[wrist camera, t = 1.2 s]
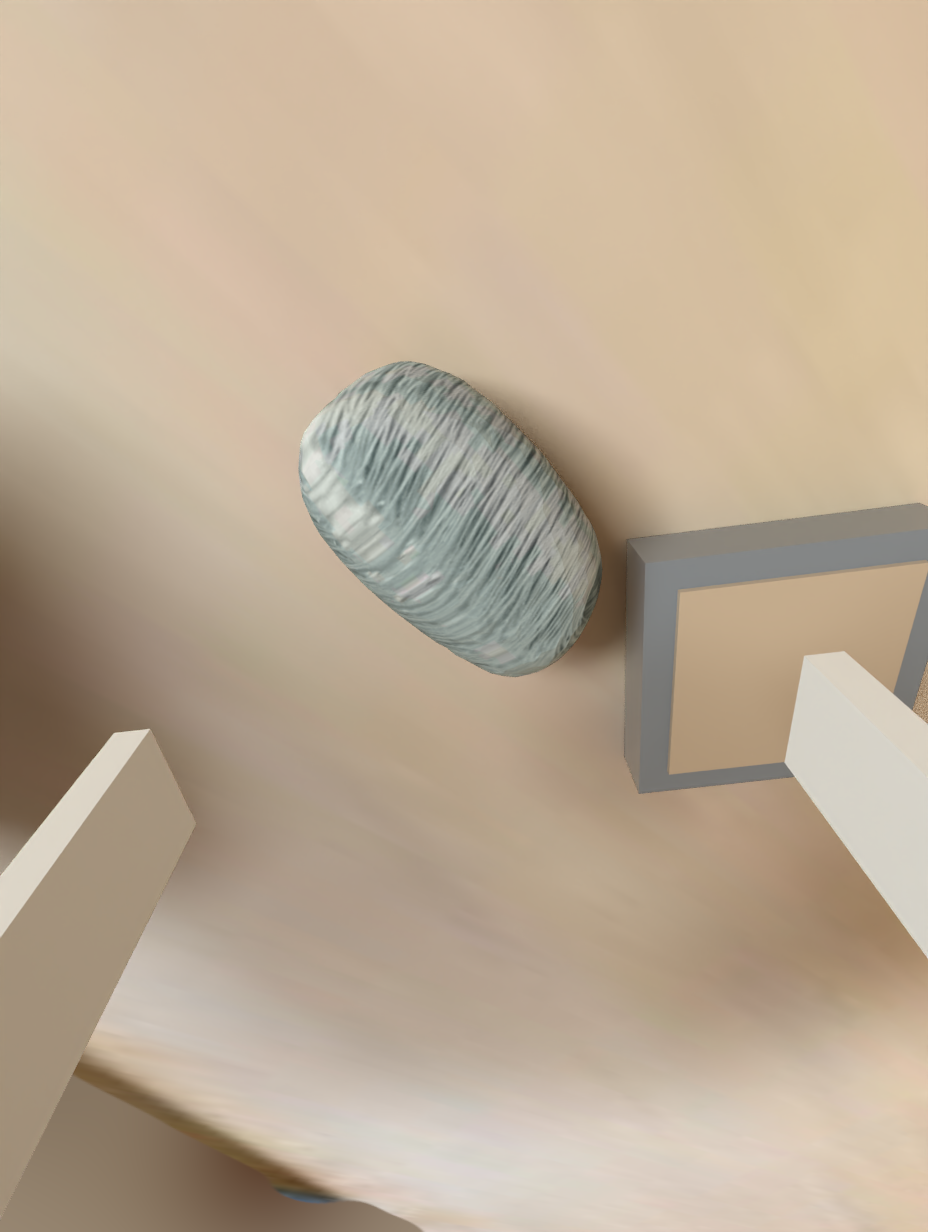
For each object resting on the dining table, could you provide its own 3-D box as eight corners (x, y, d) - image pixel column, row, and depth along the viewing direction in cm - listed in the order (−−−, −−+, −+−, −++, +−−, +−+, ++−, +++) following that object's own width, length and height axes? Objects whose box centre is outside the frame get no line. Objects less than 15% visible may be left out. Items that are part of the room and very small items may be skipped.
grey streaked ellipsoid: (678, 560, 25) (609, 699, 18) (520, 630, 32) (424, 753, 24) (498, 281, 23) (337, 314, 16) (368, 419, 29) (213, 486, 22)
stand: (624, 756, 35) (640, 797, 32) (626, 539, 28) (647, 566, 25) (860, 730, 34) (898, 769, 31) (919, 502, 28) (975, 526, 25)
